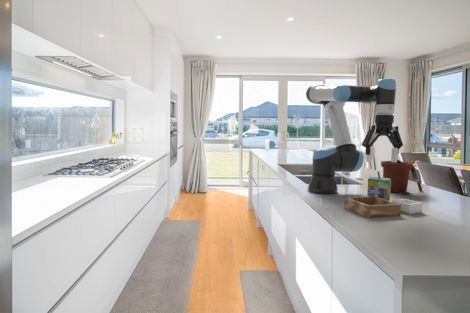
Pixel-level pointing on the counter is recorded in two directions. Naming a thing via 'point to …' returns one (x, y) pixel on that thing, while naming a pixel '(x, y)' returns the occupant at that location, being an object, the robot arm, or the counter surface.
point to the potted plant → (399, 175)
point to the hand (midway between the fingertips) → (381, 162)
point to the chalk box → (379, 187)
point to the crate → (372, 206)
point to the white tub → (409, 206)
